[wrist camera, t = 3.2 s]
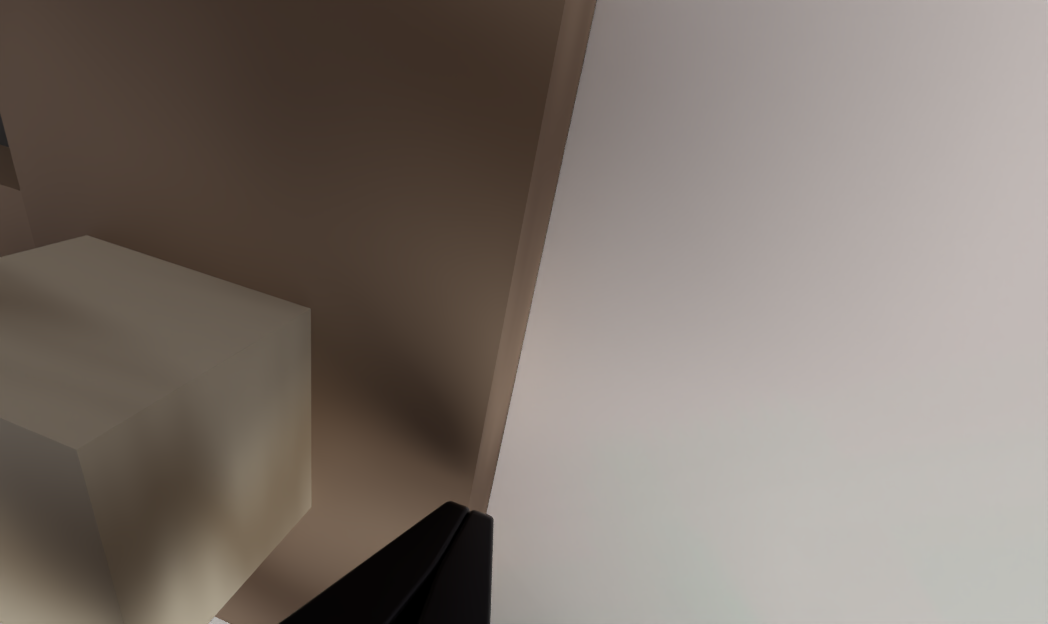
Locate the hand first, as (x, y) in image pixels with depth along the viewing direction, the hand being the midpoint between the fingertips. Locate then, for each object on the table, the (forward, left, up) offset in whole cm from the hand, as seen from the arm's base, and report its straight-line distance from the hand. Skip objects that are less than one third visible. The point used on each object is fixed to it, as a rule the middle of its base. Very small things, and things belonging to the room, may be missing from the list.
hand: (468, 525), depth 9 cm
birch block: (0, +6, -1) cm, 6 cm away
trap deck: (0, +11, -3) cm, 12 cm away
